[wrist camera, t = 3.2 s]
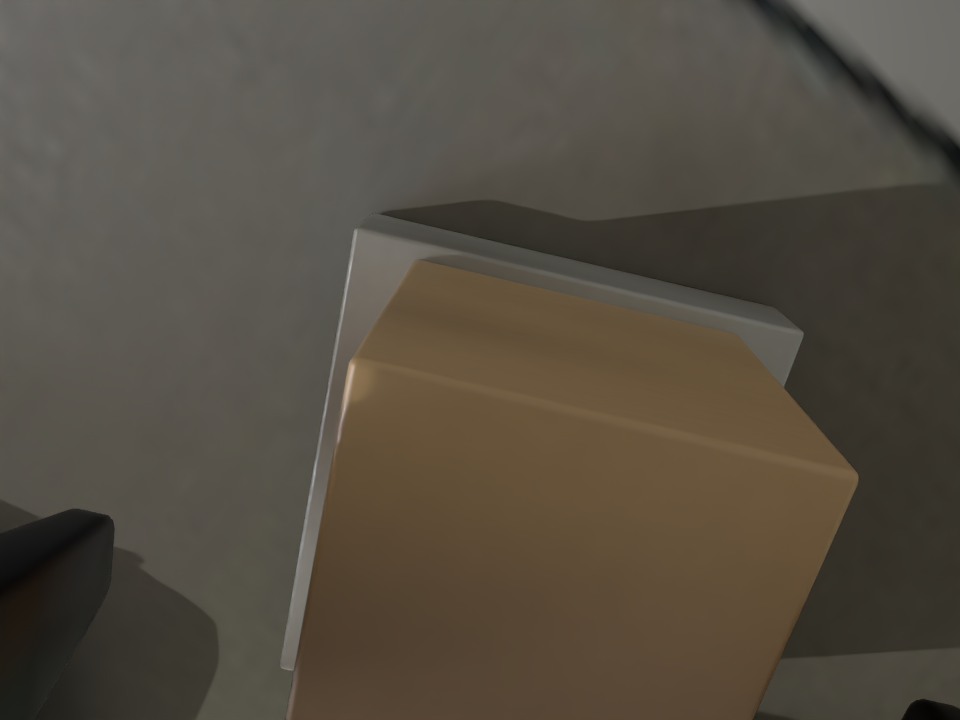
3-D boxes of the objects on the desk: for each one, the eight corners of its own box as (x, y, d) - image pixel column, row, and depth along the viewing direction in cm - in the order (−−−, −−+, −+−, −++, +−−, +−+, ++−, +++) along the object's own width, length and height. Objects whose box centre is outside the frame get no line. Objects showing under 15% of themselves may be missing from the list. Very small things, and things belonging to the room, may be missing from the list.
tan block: (633, 693, 13) (694, 1032, 8) (300, 618, 13) (171, 921, 8) (777, 307, 11) (975, 477, 6) (371, 211, 11) (250, 309, 6)
